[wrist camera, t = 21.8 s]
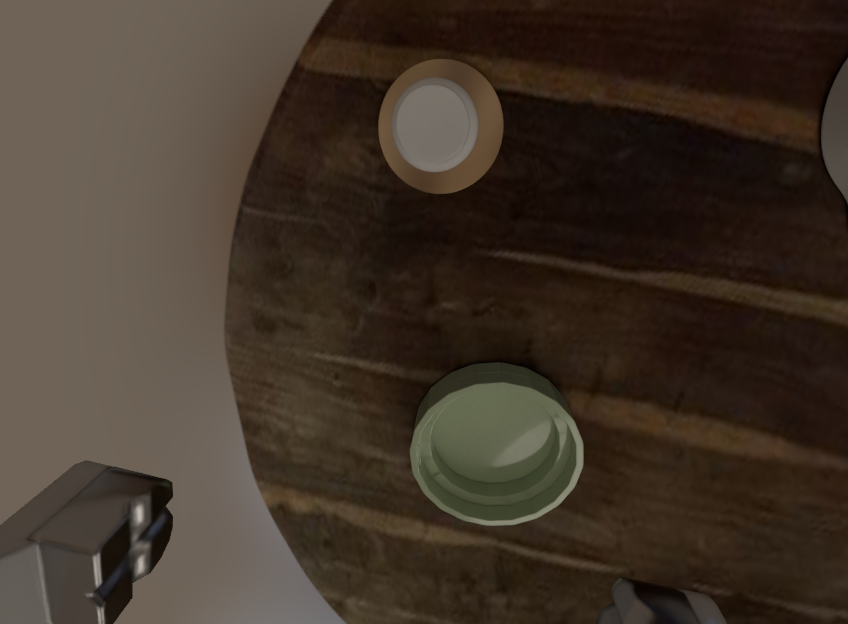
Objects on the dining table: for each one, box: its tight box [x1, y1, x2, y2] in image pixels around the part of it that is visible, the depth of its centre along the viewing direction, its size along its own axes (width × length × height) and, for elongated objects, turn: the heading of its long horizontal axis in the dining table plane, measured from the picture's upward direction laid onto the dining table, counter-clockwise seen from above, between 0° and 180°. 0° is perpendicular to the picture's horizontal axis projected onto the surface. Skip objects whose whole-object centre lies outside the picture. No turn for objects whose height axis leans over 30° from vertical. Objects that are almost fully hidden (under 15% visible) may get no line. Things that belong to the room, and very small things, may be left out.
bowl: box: [410, 362, 583, 526], centre depth 39 cm, size 14×14×4 cm
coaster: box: [378, 59, 504, 194], centre depth 32 cm, size 9×9×1 cm
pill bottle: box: [391, 77, 479, 172], centre depth 28 cm, size 5×5×9 cm
